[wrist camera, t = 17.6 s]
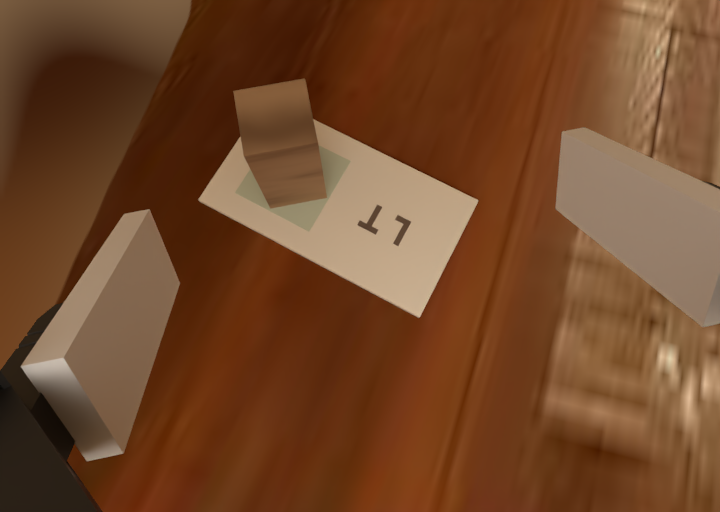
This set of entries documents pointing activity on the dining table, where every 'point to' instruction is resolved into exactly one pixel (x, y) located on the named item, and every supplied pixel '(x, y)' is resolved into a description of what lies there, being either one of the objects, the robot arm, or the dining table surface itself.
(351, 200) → the board
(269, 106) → the walnut block
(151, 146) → the dining table surface
